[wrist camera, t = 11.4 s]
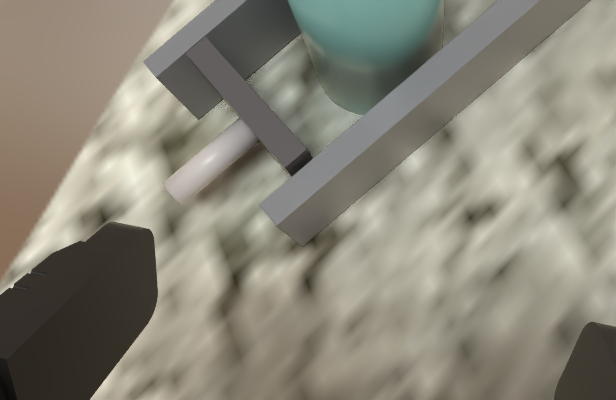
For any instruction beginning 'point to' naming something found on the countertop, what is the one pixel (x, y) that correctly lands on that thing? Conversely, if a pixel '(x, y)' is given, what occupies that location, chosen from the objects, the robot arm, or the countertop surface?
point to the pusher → (234, 129)
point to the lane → (375, 123)
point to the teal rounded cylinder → (368, 44)
